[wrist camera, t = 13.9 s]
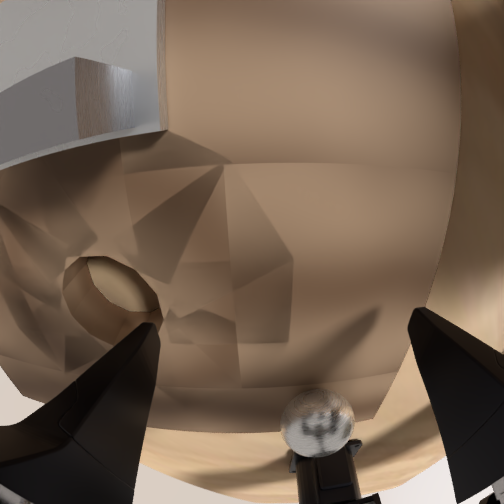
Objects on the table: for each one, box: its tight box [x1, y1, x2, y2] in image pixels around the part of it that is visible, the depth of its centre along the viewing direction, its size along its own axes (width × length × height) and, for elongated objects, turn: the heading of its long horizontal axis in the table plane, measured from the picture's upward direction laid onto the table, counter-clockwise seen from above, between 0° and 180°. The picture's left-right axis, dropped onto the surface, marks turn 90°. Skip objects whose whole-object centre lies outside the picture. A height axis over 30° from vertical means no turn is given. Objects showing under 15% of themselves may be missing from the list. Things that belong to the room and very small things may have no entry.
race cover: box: [0, 0, 169, 170], centre depth 4 cm, size 7×7×4 cm
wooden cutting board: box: [0, 0, 461, 433], centre depth 10 cm, size 25×26×2 cm
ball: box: [280, 389, 355, 458], centre depth 11 cm, size 4×4×4 cm
